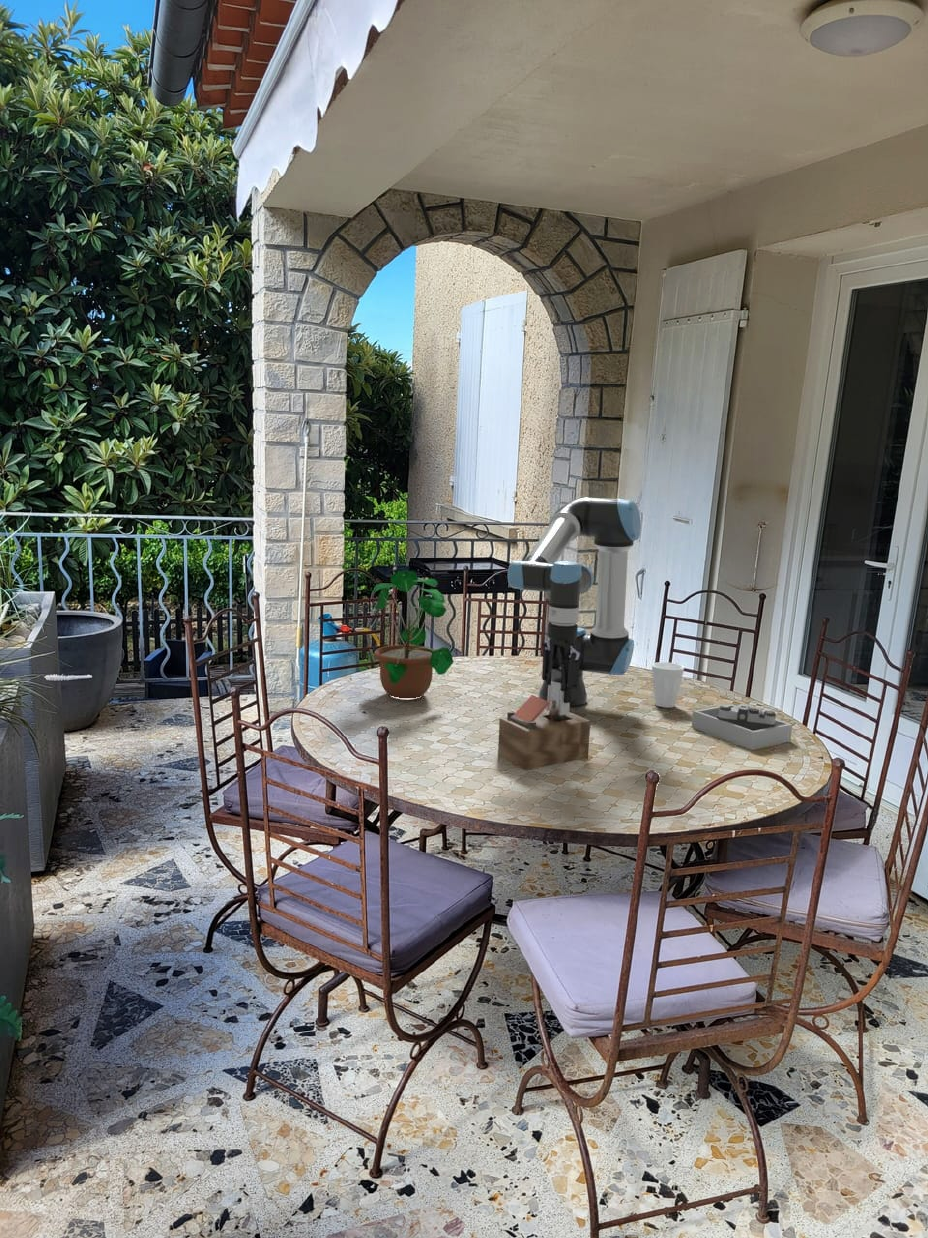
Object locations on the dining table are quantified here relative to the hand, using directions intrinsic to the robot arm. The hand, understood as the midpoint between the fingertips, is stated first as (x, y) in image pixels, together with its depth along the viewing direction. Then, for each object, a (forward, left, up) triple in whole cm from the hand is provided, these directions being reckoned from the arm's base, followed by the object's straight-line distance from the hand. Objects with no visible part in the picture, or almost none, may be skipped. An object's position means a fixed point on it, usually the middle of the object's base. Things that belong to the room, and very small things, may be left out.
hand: (557, 711), depth 226 cm
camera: (-59, +12, -12) cm, 61 cm away
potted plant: (+6, -64, -12) cm, 65 cm away
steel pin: (0, 0, -5) cm, 5 cm away
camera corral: (-59, +10, -12) cm, 61 cm away
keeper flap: (+9, 0, +1) cm, 9 cm away
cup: (-60, -21, -12) cm, 65 cm away
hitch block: (+4, 0, -12) cm, 12 cm away
